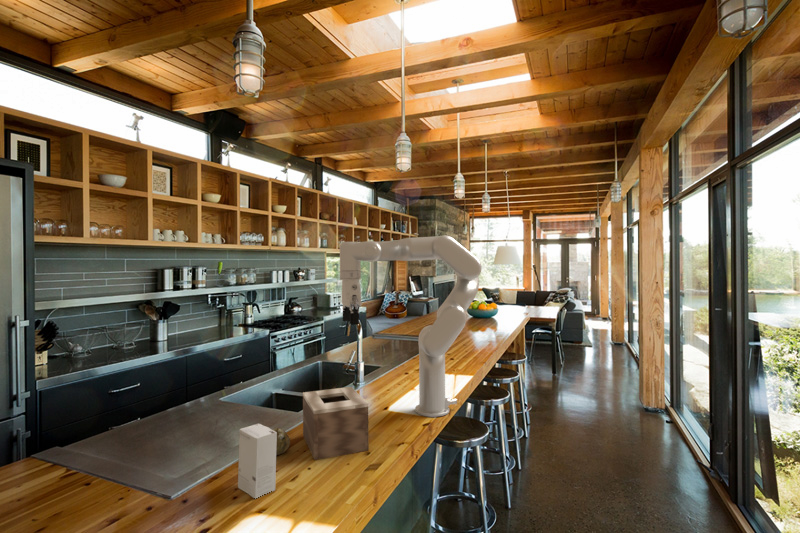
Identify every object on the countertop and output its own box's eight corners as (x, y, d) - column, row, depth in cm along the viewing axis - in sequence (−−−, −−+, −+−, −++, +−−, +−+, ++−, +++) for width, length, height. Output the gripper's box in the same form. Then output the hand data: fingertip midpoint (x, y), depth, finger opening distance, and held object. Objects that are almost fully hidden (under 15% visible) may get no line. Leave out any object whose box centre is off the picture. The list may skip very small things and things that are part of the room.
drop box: (351, 428, 146) (351, 386, 146) (368, 450, 129) (368, 403, 129) (303, 436, 140) (302, 392, 139) (314, 460, 123) (313, 410, 123)
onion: (296, 448, 131) (296, 422, 130) (280, 460, 123) (280, 432, 123) (274, 445, 133) (274, 419, 133) (258, 456, 125) (257, 429, 125)
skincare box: (237, 488, 108) (236, 428, 108) (259, 479, 113) (258, 421, 112) (256, 500, 103) (255, 437, 102) (278, 490, 107) (277, 430, 107)
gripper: (367, 276, 153) (368, 325, 153) (353, 274, 169) (353, 319, 169) (346, 276, 150) (347, 326, 150) (334, 275, 166) (334, 320, 166)
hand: (350, 322), depth 159 cm, fingers open, 9 cm apart
